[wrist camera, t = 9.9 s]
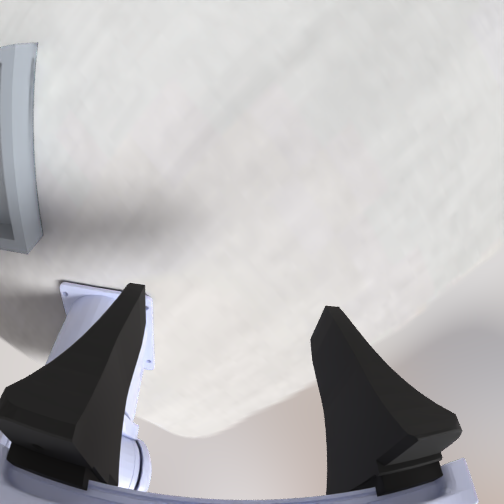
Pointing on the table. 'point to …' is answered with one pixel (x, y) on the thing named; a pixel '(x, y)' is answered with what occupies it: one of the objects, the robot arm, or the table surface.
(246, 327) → the table surface
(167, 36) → the table surface
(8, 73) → the slate tray
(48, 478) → the robot arm
